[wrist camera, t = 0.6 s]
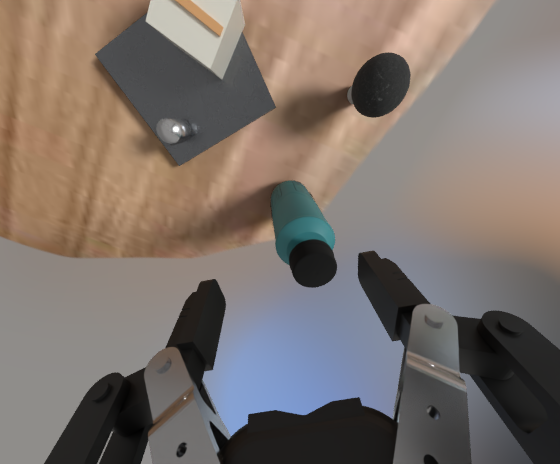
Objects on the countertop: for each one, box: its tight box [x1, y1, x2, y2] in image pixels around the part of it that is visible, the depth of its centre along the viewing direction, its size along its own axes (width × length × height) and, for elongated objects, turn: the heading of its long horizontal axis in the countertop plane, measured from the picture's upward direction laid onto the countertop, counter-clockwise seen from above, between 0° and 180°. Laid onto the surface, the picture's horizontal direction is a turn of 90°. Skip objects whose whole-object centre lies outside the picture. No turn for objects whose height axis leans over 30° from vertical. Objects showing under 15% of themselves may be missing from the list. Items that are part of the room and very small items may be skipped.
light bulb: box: [347, 53, 410, 117], centre depth 24 cm, size 6×6×10 cm
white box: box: [146, 0, 245, 79], centre depth 20 cm, size 6×6×6 cm
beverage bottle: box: [270, 180, 337, 287], centre depth 26 cm, size 6×7×20 cm
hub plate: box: [95, 12, 276, 166], centre depth 24 cm, size 14×16×6 cm
